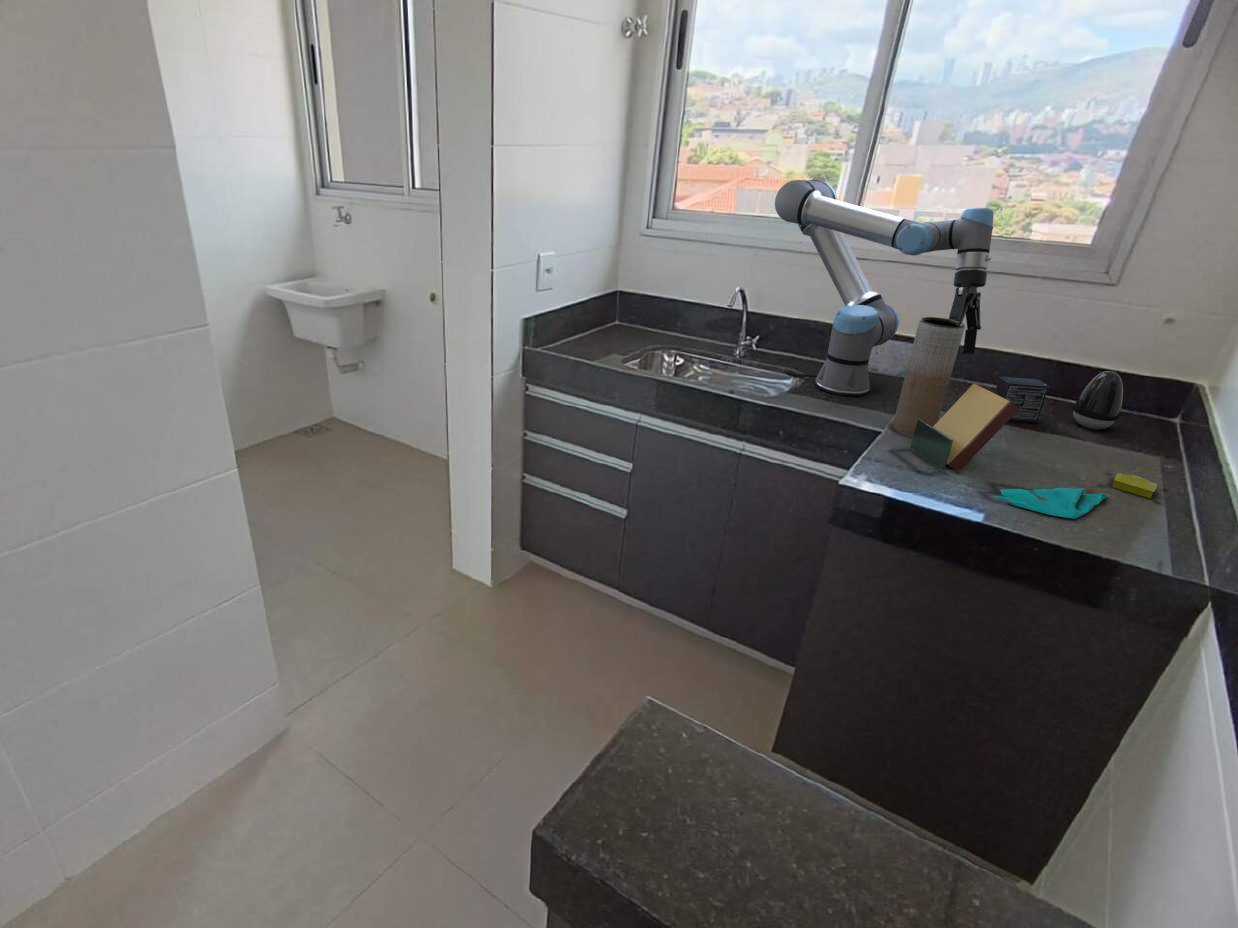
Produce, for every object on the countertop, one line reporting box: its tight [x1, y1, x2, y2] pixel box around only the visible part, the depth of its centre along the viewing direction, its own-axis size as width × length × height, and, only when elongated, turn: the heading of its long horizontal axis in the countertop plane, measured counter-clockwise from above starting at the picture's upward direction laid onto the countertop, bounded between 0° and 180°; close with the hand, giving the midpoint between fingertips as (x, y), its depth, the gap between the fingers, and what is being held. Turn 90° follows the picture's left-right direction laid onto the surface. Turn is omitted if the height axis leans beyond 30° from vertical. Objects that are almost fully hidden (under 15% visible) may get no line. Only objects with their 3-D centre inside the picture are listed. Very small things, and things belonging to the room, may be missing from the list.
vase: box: [892, 316, 966, 436], centre depth 160 cm, size 10×10×28 cm
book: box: [933, 383, 1019, 471], centre depth 147 cm, size 3×12×18 cm
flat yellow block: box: [1111, 472, 1164, 504], centre depth 142 cm, size 10×9×3 cm
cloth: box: [993, 486, 1108, 520], centre depth 134 cm, size 26×14×2 cm, turn 84°
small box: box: [993, 376, 1050, 424], centre depth 177 cm, size 11×6×10 cm, turn 84°
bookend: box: [910, 419, 953, 471], centre depth 147 cm, size 5×12×8 cm, turn 11°
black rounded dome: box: [1072, 370, 1124, 431], centre depth 173 cm, size 10×10×15 cm
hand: (961, 353), depth 176 cm, fingers open, 13 cm apart
